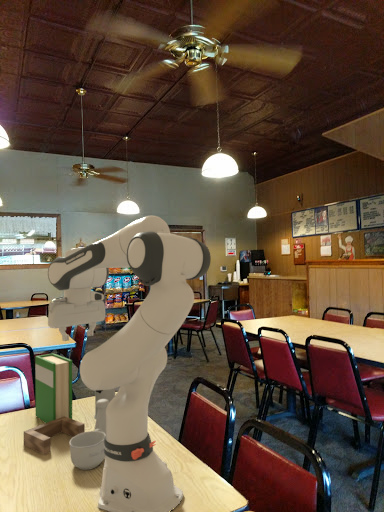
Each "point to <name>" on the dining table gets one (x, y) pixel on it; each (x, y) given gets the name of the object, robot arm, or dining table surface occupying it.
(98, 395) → the tall mug
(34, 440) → the walnut holder
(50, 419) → the hardback book
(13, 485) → the dining table surface
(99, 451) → the teacup
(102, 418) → the salt shaker
